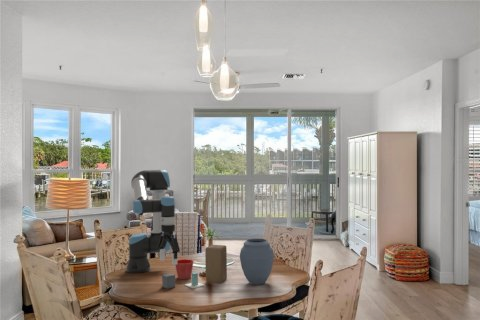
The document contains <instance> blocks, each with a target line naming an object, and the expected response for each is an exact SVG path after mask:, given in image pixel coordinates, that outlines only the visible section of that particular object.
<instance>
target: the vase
mask: <svg viewBox="0 0 480 320" xmlns="http://www.w3.org/2000/svg"><path fill="white" fill-rule="evenodd" d="M239 258H240V259H239V260H240V266H241V269H242V272H243V275H244V277H245V278H246V280H247V282H249V284H250V285H253V286H261V285H263V284H266V282H267V280H268V278H269V277H270V275H271V272H272V269H273V265H274V258H275V255H274V250H273V247H272V246H271V243H270V241H268V240H267V239H264V238H250V239H249V238H248V239H247V240H246V241H244V242H243V245H242V247H241V248H240V251H239Z"/></svg>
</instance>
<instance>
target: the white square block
mask: <svg viewBox="0 0 480 320" xmlns="http://www.w3.org/2000/svg"><path fill="white" fill-rule="evenodd" d="M190 278H191V282H190V283H185V284H184V286H185V287H187V288H190V289H197V288H201V287H205V286H206V285H205V284H203V283H201V282H199V273H198V272H194V271H193V272H192V273H191V277H190Z"/></svg>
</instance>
